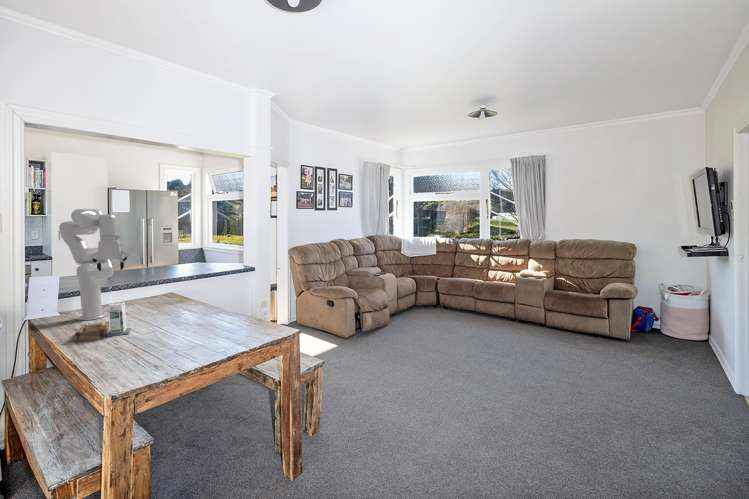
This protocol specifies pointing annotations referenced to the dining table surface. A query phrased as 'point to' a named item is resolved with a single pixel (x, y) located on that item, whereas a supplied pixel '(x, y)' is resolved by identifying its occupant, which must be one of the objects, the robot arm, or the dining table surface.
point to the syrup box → (117, 317)
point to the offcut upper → (94, 325)
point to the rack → (91, 333)
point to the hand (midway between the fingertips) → (111, 270)
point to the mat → (119, 333)
